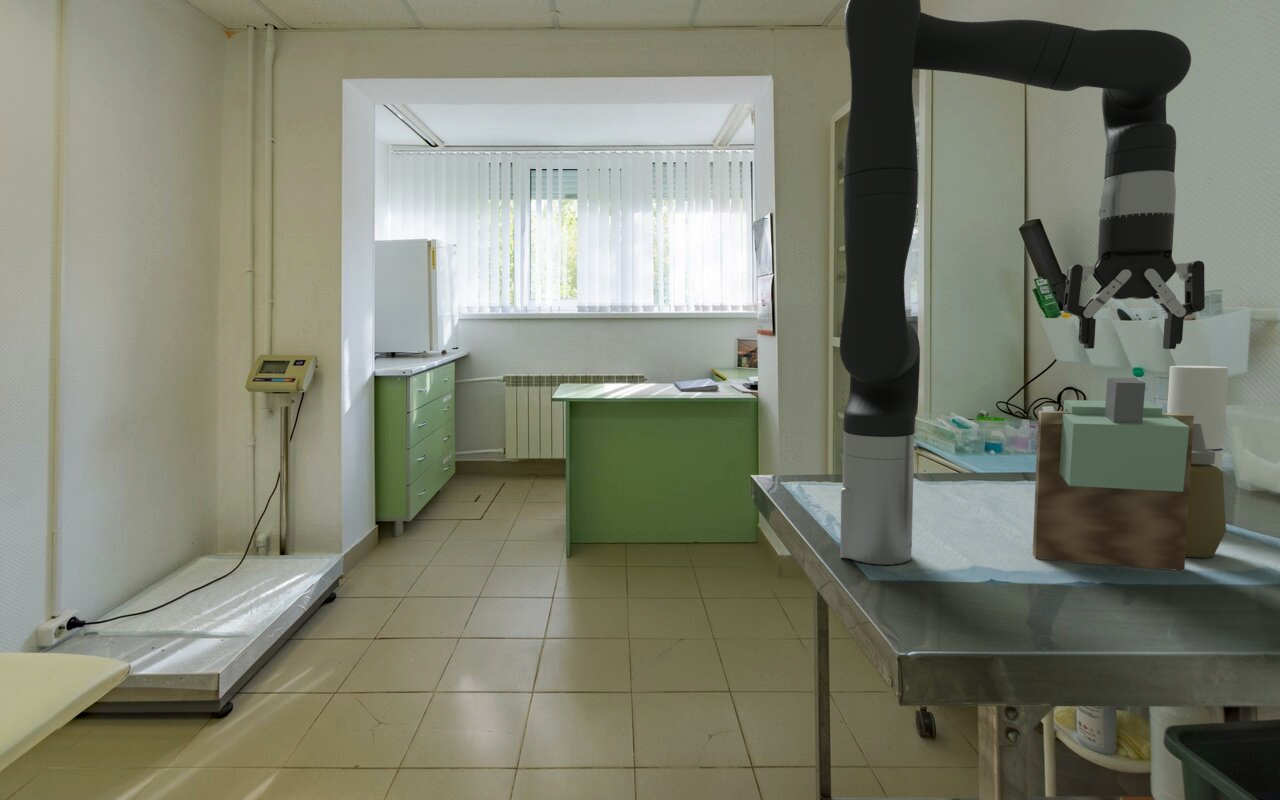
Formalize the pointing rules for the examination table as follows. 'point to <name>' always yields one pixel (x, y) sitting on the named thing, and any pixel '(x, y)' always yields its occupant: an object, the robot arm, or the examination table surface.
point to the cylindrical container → (1201, 401)
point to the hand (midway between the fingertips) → (1128, 348)
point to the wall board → (1106, 512)
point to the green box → (1122, 442)
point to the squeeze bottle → (1204, 501)
